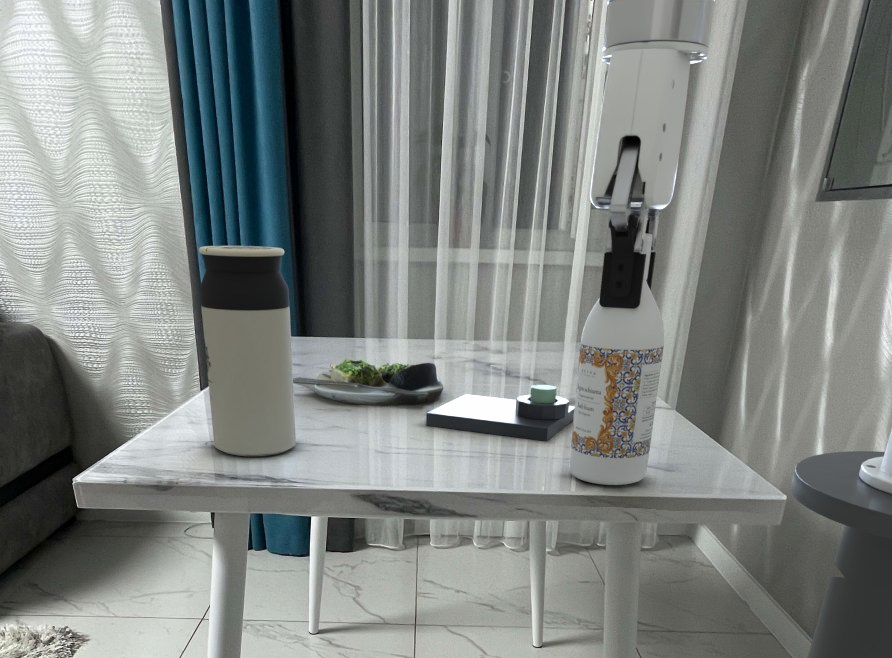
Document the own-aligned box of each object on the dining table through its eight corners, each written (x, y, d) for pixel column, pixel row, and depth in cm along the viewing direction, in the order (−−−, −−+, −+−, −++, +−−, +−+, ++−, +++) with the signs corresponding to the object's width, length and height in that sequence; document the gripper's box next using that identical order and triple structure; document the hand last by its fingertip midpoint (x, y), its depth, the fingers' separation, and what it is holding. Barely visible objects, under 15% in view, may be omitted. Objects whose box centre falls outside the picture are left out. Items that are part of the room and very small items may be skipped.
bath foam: (553, 470, 76) (572, 232, 66) (611, 461, 78) (637, 232, 69) (601, 491, 70) (630, 235, 61) (661, 480, 73) (697, 234, 64)
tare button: (558, 402, 91) (559, 386, 90) (551, 406, 89) (552, 390, 88) (534, 399, 92) (535, 383, 91) (526, 404, 90) (528, 387, 89)
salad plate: (286, 408, 96) (284, 368, 94) (297, 379, 112) (295, 345, 110) (448, 410, 98) (449, 370, 96) (436, 381, 114) (437, 347, 112)
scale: (578, 419, 95) (581, 393, 94) (549, 441, 85) (552, 413, 84) (465, 405, 100) (466, 380, 99) (425, 425, 91) (426, 398, 89)
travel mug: (306, 439, 84) (298, 247, 75) (281, 460, 77) (269, 251, 68) (232, 434, 85) (216, 244, 76) (201, 454, 78) (180, 247, 69)
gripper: (627, 56, 67) (602, 295, 75) (577, 16, 54) (553, 312, 62) (722, 51, 64) (685, 299, 73) (694, 8, 51) (652, 318, 59)
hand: (624, 302), depth 67 cm, fingers closed on bath foam, 3 cm apart
